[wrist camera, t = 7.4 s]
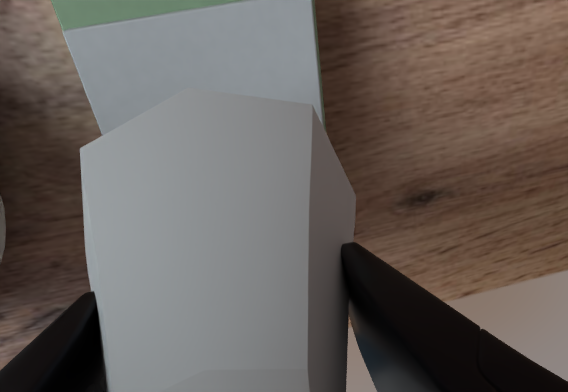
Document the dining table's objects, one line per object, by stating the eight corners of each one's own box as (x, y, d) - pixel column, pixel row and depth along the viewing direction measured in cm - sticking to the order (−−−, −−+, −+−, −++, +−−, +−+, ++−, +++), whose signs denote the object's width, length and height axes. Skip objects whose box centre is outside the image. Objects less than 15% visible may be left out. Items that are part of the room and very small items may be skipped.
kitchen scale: (324, 210, 21) (338, 244, 19) (161, 241, 21) (152, 280, 19) (298, -57, 15) (313, -60, 13) (67, -21, 15) (35, -17, 12)
